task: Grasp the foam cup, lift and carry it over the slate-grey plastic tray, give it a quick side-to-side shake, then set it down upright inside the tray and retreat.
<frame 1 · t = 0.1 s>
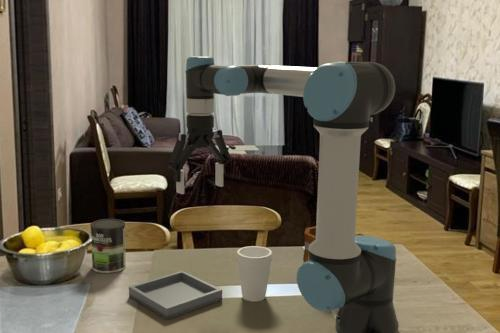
hand: (200, 189, 167), 28 cm above the table, fingers open, 13 cm apart
mug: (334, 281, 176), on the table
tray: (175, 298, 162), on the table
foam cup: (253, 297, 164), on the table
coffee can: (109, 267, 183), on the table
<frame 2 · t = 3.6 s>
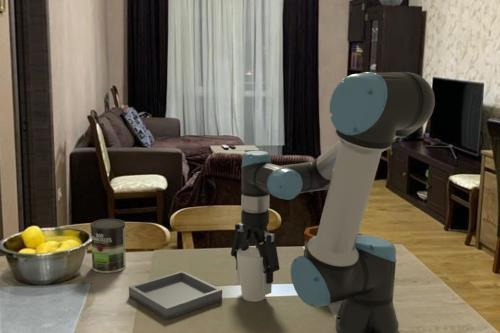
hand: (253, 287, 163), 3 cm above the table, fingers closed on foam cup, 9 cm apart
foam cup: (253, 297, 163), on the table, touching gripper
everything else where it was.
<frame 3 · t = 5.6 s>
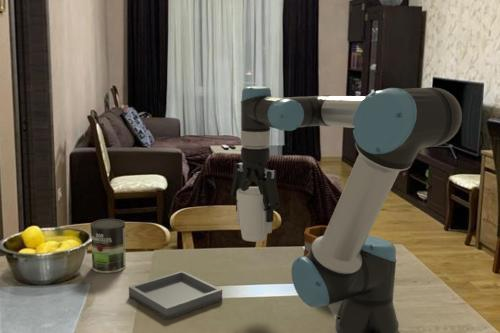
hand: (253, 228, 159), 20 cm above the table, fingers closed on foam cup, 9 cm apart
foam cup: (253, 238, 160), point 17 cm above the table, touching gripper
everything else where it was.
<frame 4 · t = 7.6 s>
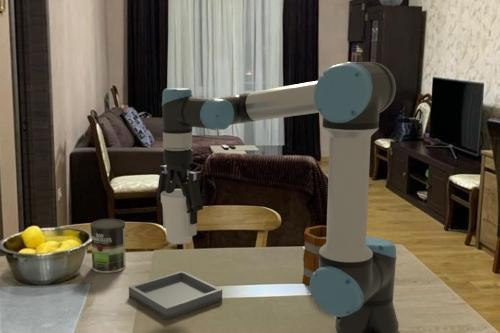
hand: (179, 231, 158), 19 cm above the table, fingers closed on foam cup, 9 cm apart
foam cup: (179, 241, 159), point 16 cm above the table, touching gripper
everything else where it was.
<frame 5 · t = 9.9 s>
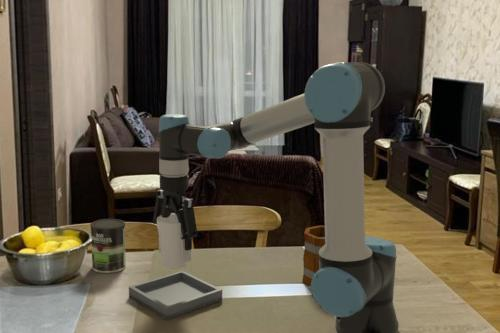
hand: (174, 255, 159), 12 cm above the table, fingers closed on foam cup, 9 cm apart
foam cup: (174, 265, 160), point 9 cm above the table, touching gripper
everything else where it was.
when the fingers open (5 cm above the table, at t = 11.7 s): foam cup drops 1 cm, resting on tray.
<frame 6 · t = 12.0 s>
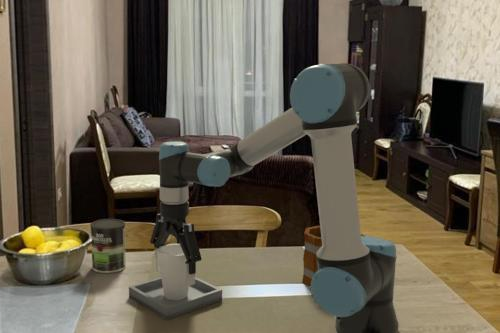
hand: (175, 277, 160), 6 cm above the table, fingers open, 13 cm apart
foam cup: (175, 295, 161), point 1 cm above the table, touching tray
everything else where it was.
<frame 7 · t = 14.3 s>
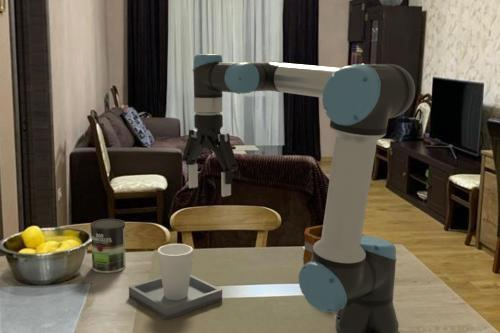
hand: (209, 191, 161), 29 cm above the table, fingers open, 13 cm apart
nothing on the table moved.
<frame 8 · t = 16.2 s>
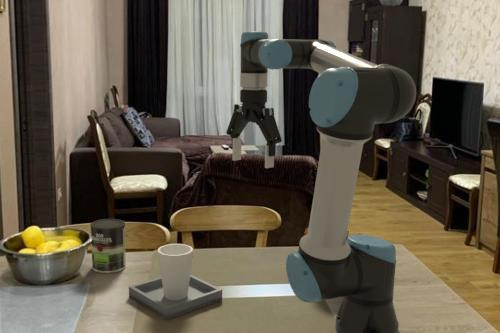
hand: (252, 163, 169), 35 cm above the table, fingers open, 13 cm apart
nothing on the table moved.
at the end: foam cup inside the target area on the tray (0.1 cm from its centre), point 0.8 cm above the tray's base; foam cup tilted 0°; the gripper is holding nothing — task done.
